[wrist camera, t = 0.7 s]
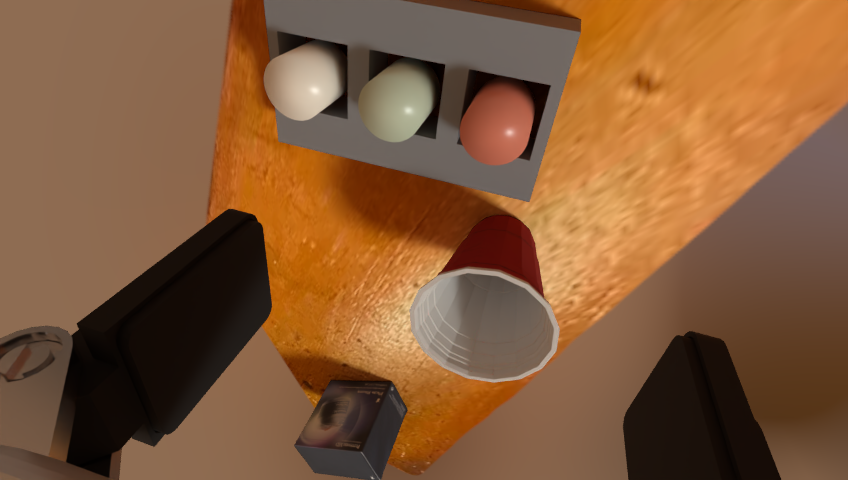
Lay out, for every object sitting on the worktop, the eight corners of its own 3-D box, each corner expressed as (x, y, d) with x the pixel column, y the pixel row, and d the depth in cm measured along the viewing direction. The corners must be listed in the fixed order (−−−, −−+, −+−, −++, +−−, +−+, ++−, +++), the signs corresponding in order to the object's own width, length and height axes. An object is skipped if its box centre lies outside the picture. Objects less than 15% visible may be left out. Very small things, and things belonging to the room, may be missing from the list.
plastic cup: (592, 234, 38) (594, 337, 29) (516, 300, 45) (498, 401, 36) (488, 163, 37) (457, 247, 28) (426, 242, 44) (384, 331, 34)
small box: (392, 378, 59) (361, 452, 51) (409, 409, 62) (383, 483, 54) (328, 378, 63) (290, 446, 55) (347, 406, 66) (314, 475, 58)
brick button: (479, 70, 31) (465, 92, 27) (543, 83, 30) (537, 107, 26) (469, 129, 33) (454, 156, 30) (527, 142, 33) (519, 172, 29)
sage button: (385, 51, 32) (358, 70, 28) (443, 63, 31) (424, 83, 27) (382, 110, 34) (357, 134, 31) (436, 122, 34) (417, 148, 30)
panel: (291, -31, 32) (260, -25, 29) (581, 19, 29) (580, 32, 26) (302, 123, 40) (278, 141, 37) (533, 177, 36) (529, 202, 33)
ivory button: (296, 34, 33) (260, 49, 29) (351, 45, 32) (321, 62, 28) (300, 92, 36) (267, 113, 32) (351, 103, 35) (323, 126, 31)
